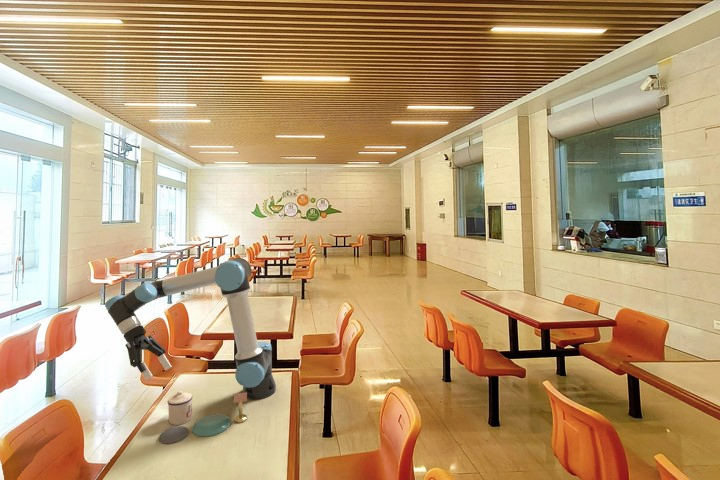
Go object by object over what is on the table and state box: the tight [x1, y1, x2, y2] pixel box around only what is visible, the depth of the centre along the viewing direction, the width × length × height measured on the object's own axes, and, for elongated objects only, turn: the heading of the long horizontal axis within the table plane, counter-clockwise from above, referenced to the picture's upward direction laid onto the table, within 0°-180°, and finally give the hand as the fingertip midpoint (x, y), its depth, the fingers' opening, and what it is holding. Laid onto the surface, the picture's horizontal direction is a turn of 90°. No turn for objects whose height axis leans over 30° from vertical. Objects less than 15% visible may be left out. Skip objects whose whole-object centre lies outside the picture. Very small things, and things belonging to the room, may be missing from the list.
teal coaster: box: [191, 414, 231, 438], centre depth 143 cm, size 14×14×1 cm
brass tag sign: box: [233, 391, 248, 424], centre depth 148 cm, size 5×5×11 cm
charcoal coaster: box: [158, 425, 190, 445], centre depth 137 cm, size 10×10×1 cm
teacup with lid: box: [167, 390, 193, 426], centre depth 149 cm, size 12×9×12 cm
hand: (159, 373), depth 149 cm, fingers open, 13 cm apart
